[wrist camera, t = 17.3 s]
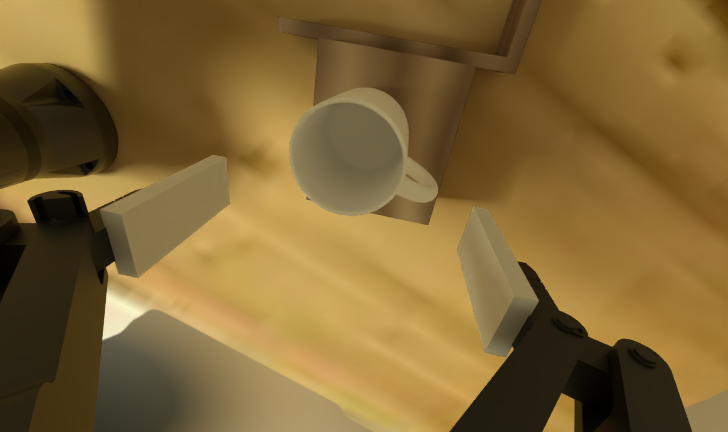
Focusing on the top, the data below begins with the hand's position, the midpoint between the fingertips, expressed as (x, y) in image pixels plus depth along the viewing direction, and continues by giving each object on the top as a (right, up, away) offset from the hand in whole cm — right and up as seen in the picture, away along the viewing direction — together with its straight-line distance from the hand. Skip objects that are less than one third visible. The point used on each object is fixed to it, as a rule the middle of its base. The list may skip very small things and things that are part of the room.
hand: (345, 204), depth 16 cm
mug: (+3, +7, +14) cm, 16 cm away
